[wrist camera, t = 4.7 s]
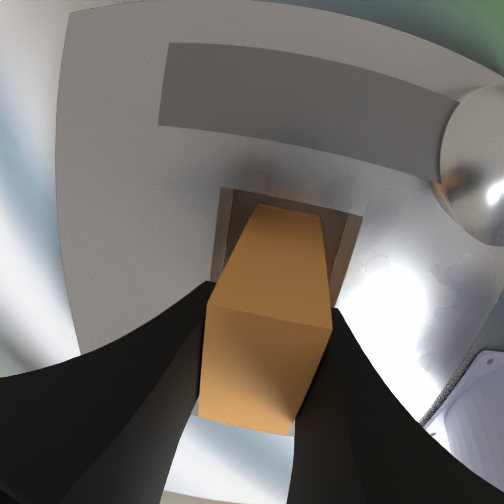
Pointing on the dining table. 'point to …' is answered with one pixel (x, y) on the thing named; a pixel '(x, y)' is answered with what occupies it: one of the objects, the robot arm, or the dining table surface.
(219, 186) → the gray slotted plate
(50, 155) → the dining table surface
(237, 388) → the orange rectangular block
